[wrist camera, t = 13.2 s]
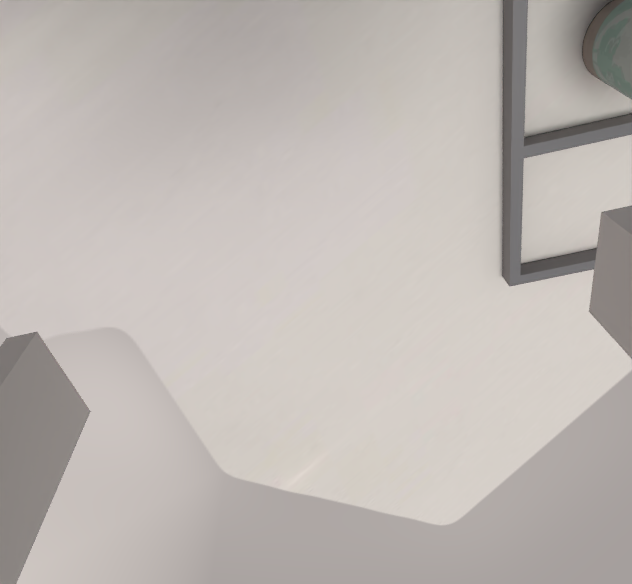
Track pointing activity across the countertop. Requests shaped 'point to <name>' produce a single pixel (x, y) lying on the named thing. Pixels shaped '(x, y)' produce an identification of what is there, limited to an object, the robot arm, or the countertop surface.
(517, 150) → the divided tray
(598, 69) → the coffee cup
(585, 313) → the countertop surface
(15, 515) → the robot arm
